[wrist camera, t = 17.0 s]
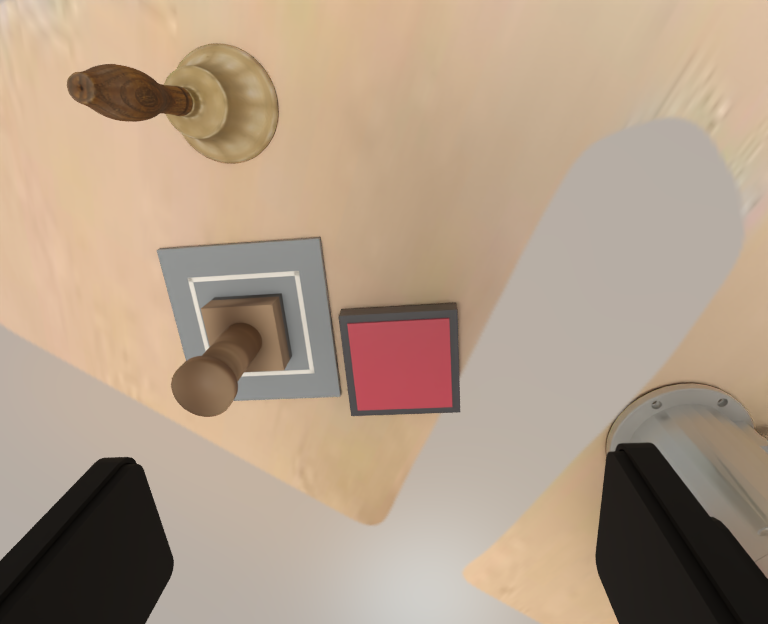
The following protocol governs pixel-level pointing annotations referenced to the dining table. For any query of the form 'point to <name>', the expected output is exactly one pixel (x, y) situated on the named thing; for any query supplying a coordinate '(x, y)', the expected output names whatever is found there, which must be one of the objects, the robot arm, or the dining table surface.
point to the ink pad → (401, 359)
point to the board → (256, 277)
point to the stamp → (233, 351)
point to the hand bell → (192, 100)
